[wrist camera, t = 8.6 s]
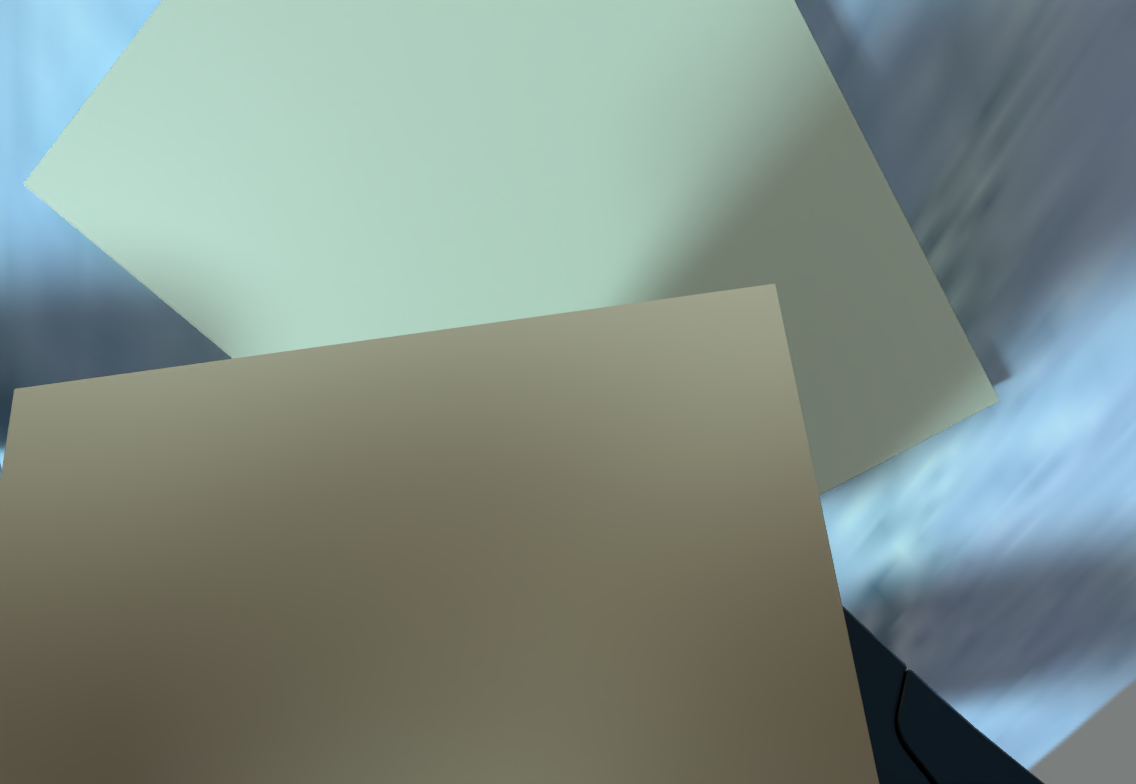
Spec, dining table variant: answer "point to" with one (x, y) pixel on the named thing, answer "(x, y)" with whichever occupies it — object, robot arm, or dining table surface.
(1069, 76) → the dining table surface
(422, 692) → the maple block
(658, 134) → the sage board
